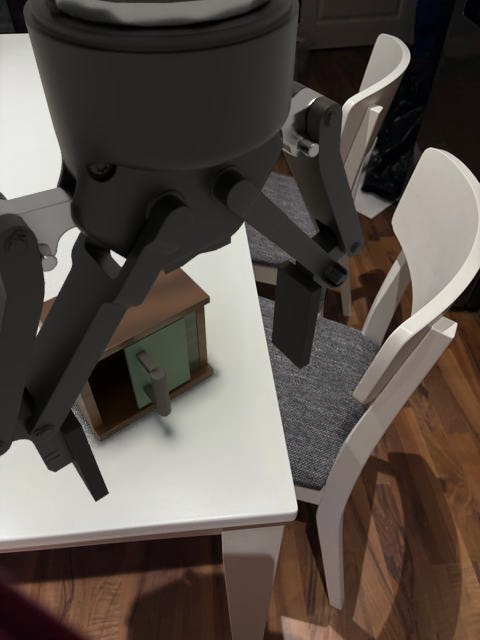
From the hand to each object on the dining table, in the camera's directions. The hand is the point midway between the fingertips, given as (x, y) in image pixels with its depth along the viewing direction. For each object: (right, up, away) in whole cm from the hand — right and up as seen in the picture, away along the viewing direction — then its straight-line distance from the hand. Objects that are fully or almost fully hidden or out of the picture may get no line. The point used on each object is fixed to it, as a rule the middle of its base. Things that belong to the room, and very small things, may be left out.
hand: (199, 409), depth 30 cm
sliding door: (-6, -5, +32) cm, 33 cm away
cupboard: (-10, -2, +37) cm, 38 cm away
